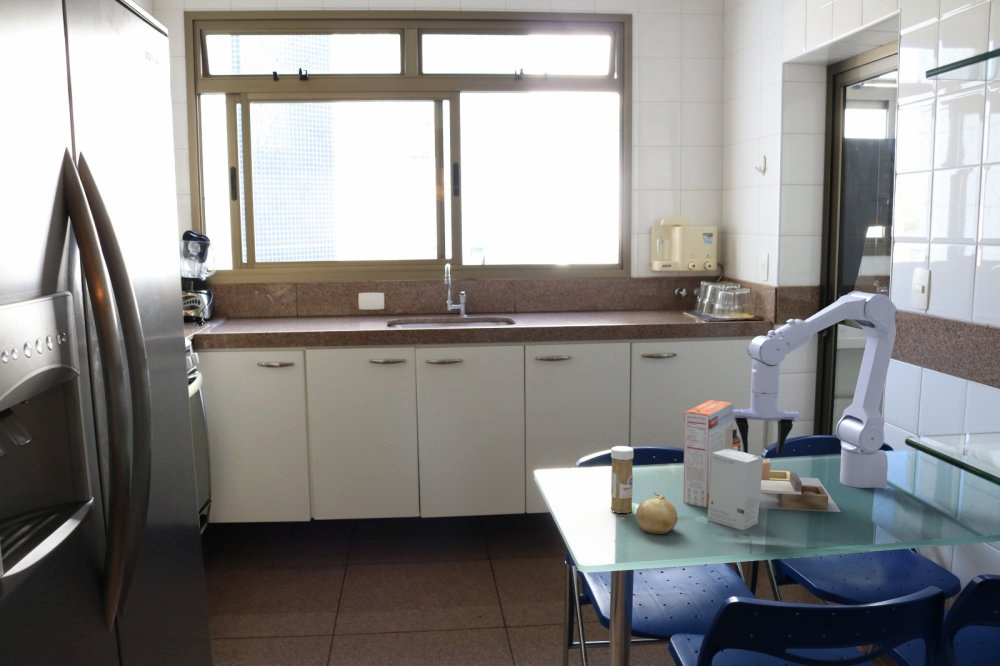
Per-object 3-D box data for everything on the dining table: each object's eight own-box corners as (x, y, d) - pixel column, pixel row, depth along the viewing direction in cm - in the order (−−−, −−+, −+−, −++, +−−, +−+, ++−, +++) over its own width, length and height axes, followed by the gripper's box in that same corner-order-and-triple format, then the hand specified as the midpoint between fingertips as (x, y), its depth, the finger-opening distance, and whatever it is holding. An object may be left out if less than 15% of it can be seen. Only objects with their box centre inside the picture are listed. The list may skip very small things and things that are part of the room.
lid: (795, 484, 180) (795, 472, 180) (801, 494, 173) (801, 482, 173) (756, 482, 181) (756, 470, 181) (760, 492, 175) (761, 480, 174)
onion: (684, 535, 163) (685, 500, 162) (647, 540, 160) (647, 504, 159) (665, 521, 170) (665, 487, 169) (628, 525, 168) (629, 491, 167)
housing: (820, 499, 180) (821, 485, 179) (827, 510, 173) (828, 496, 172) (776, 497, 181) (776, 483, 181) (781, 508, 174) (782, 494, 174)
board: (817, 483, 194) (818, 471, 194) (840, 517, 172) (841, 504, 172) (745, 480, 197) (746, 468, 197) (759, 513, 175) (759, 500, 174)
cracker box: (706, 490, 189) (708, 398, 187) (732, 495, 186) (735, 402, 183) (680, 507, 178) (683, 410, 175) (708, 513, 175) (711, 414, 172)
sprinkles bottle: (630, 515, 173) (631, 451, 172) (608, 513, 175) (609, 449, 173) (634, 508, 178) (635, 446, 176) (612, 506, 179) (613, 444, 177)
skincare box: (706, 525, 168) (708, 452, 166) (723, 518, 172) (725, 446, 170) (744, 536, 162) (747, 461, 160) (760, 529, 166) (763, 455, 164)
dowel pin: (768, 486, 188) (769, 460, 187) (770, 491, 185) (771, 464, 184) (751, 485, 189) (752, 459, 188) (753, 490, 185) (754, 464, 185)
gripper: (796, 388, 187) (793, 449, 188) (728, 387, 189) (726, 446, 191) (802, 395, 180) (799, 457, 182) (731, 393, 182) (729, 454, 184)
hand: (762, 452), depth 186 cm, fingers open, 6 cm apart
